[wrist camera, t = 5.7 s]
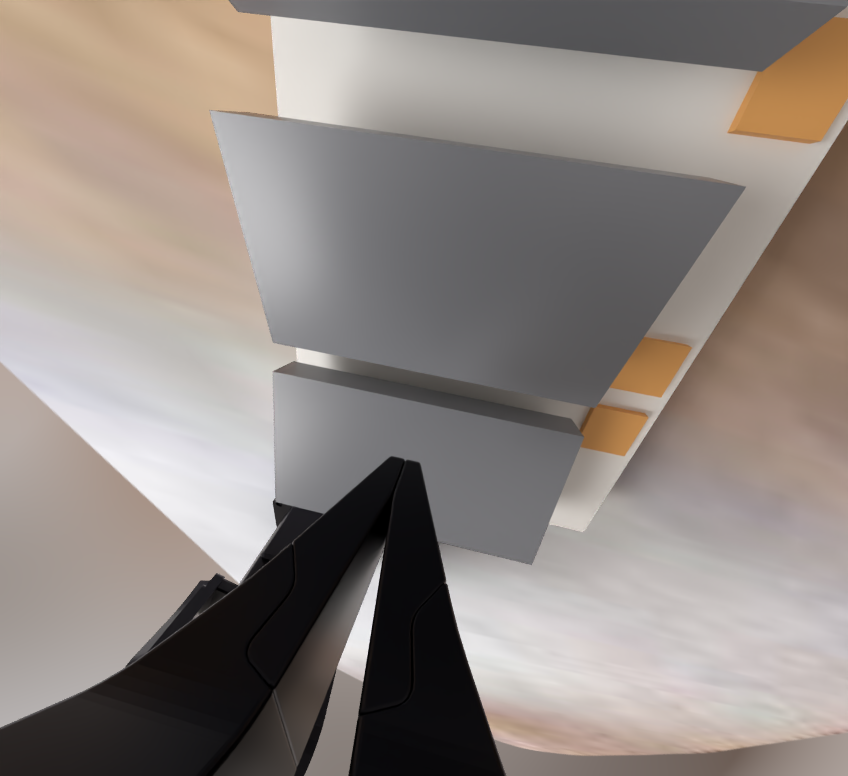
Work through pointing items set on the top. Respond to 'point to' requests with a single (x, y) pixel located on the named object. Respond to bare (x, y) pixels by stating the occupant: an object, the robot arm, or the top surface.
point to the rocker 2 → (461, 251)
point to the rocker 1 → (592, 24)
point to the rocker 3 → (423, 454)
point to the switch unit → (595, 141)
